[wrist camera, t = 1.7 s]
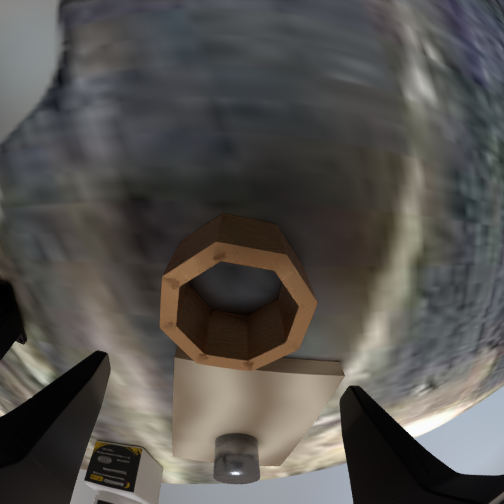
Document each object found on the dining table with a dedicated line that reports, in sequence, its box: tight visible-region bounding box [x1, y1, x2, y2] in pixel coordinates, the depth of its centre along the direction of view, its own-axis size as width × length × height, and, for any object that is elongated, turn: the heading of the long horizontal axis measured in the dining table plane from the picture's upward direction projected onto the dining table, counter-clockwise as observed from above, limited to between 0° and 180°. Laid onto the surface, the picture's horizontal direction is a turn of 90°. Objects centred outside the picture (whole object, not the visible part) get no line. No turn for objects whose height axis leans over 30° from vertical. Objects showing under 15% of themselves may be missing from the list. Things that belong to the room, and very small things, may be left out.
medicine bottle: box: [84, 440, 163, 504], centre depth 22 cm, size 7×7×12 cm
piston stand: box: [173, 346, 345, 466], centre depth 22 cm, size 12×17×2 cm
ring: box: [160, 213, 318, 371], centre depth 15 cm, size 7×7×4 cm
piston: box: [213, 433, 260, 484], centre depth 20 cm, size 4×4×4 cm
